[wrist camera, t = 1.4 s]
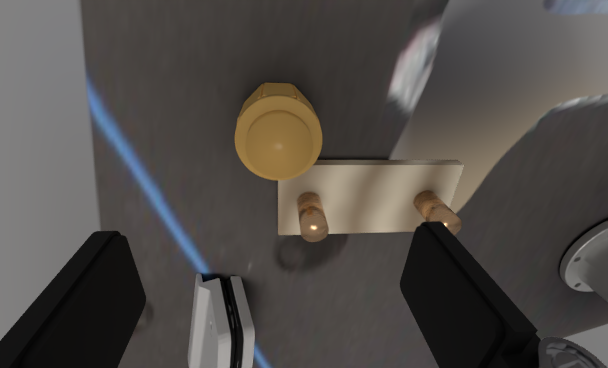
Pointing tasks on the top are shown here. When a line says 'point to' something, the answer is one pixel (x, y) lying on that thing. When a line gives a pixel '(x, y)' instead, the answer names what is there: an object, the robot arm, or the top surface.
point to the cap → (278, 132)
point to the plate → (367, 193)
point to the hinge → (220, 326)
